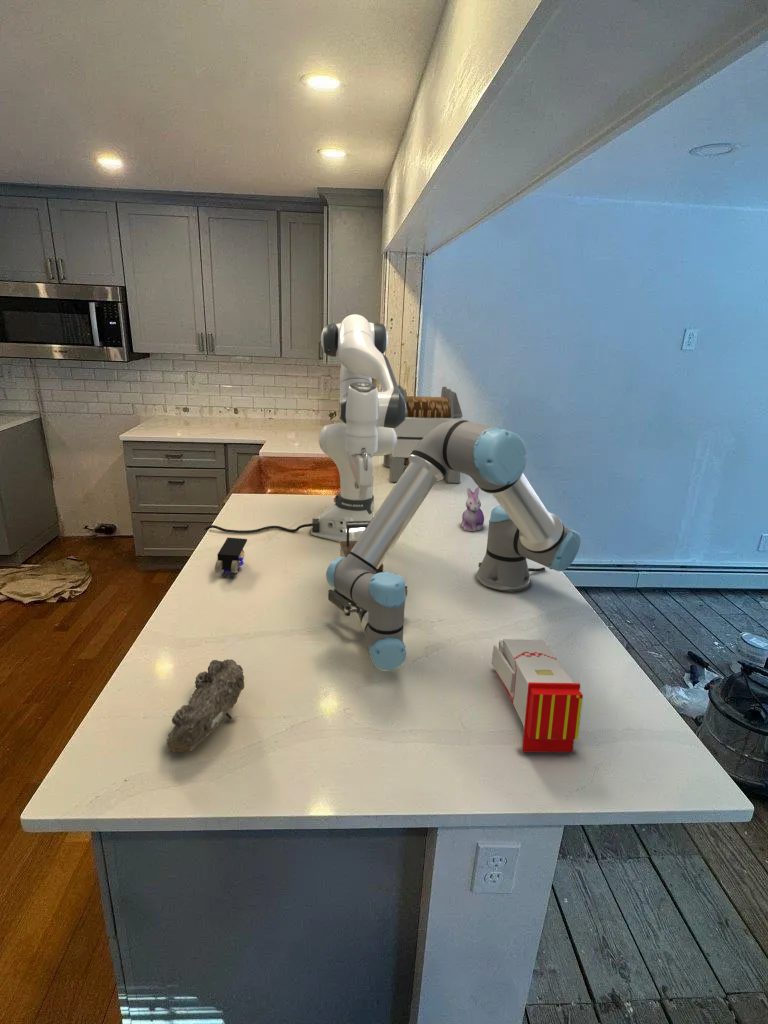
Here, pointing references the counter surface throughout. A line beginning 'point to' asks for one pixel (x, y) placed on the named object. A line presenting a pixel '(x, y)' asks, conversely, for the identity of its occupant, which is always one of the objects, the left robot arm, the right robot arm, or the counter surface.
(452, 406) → the transformer
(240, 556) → the black wheeled rover
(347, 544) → the lid
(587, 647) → the counter surface
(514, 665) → the toy
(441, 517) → the counter surface
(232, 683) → the fossil
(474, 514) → the figurine
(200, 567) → the counter surface
